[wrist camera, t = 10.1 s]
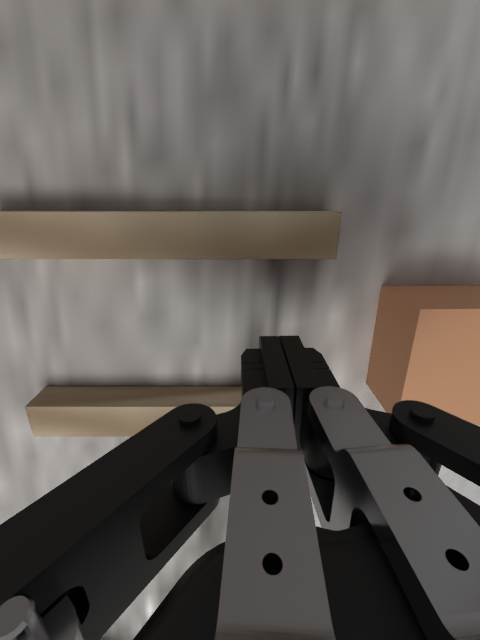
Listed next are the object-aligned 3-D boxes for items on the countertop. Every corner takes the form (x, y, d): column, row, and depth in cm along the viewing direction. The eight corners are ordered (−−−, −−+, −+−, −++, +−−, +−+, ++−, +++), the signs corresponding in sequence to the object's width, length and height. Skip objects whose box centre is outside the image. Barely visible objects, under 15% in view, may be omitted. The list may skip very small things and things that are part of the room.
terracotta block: (379, 285, 17) (420, 309, 13) (490, 284, 17) (563, 308, 13) (364, 380, 19) (395, 425, 15) (463, 380, 19) (518, 424, 15)
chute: (0, 210, 15) (-34, 211, 13) (328, 210, 15) (341, 212, 13) (53, 413, 19) (33, 436, 17) (308, 413, 19) (316, 436, 18)
